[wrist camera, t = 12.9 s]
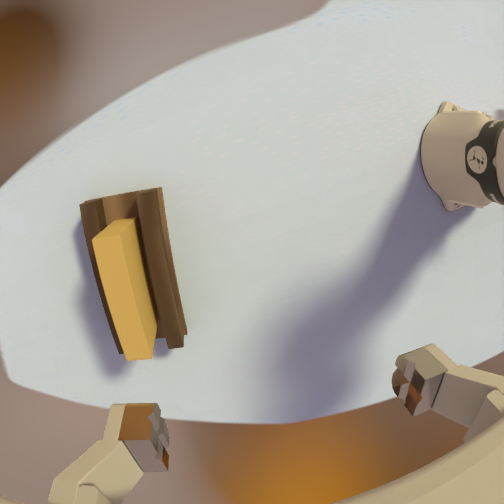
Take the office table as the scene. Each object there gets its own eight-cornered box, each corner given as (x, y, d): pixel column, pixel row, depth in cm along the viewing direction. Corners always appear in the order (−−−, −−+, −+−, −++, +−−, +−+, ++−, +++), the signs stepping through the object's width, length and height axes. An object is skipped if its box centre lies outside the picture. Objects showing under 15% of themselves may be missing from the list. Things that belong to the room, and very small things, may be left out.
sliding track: (161, 187, 36) (157, 190, 32) (187, 330, 42) (187, 346, 38) (86, 200, 34) (75, 205, 30) (121, 338, 40) (116, 354, 37)
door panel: (136, 216, 35) (120, 234, 27) (158, 319, 39) (152, 358, 31) (114, 220, 35) (91, 239, 26) (137, 321, 39) (126, 360, 31)
